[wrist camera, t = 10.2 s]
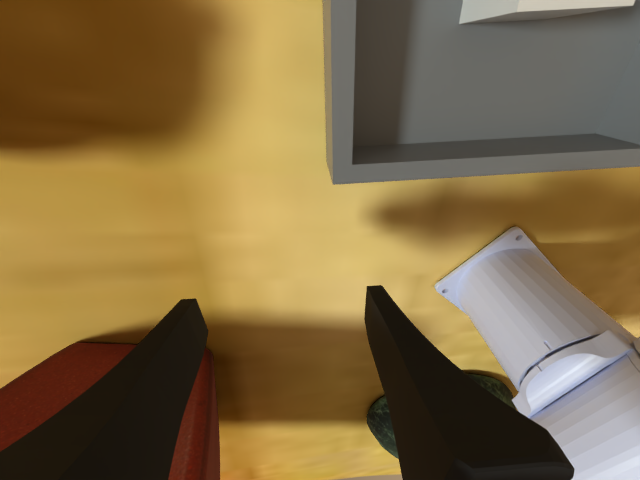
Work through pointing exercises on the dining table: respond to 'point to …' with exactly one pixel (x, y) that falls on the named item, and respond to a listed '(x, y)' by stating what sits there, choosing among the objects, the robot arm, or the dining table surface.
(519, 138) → the bin
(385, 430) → the goblet
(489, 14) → the block
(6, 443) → the plant pot
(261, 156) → the dining table surface
